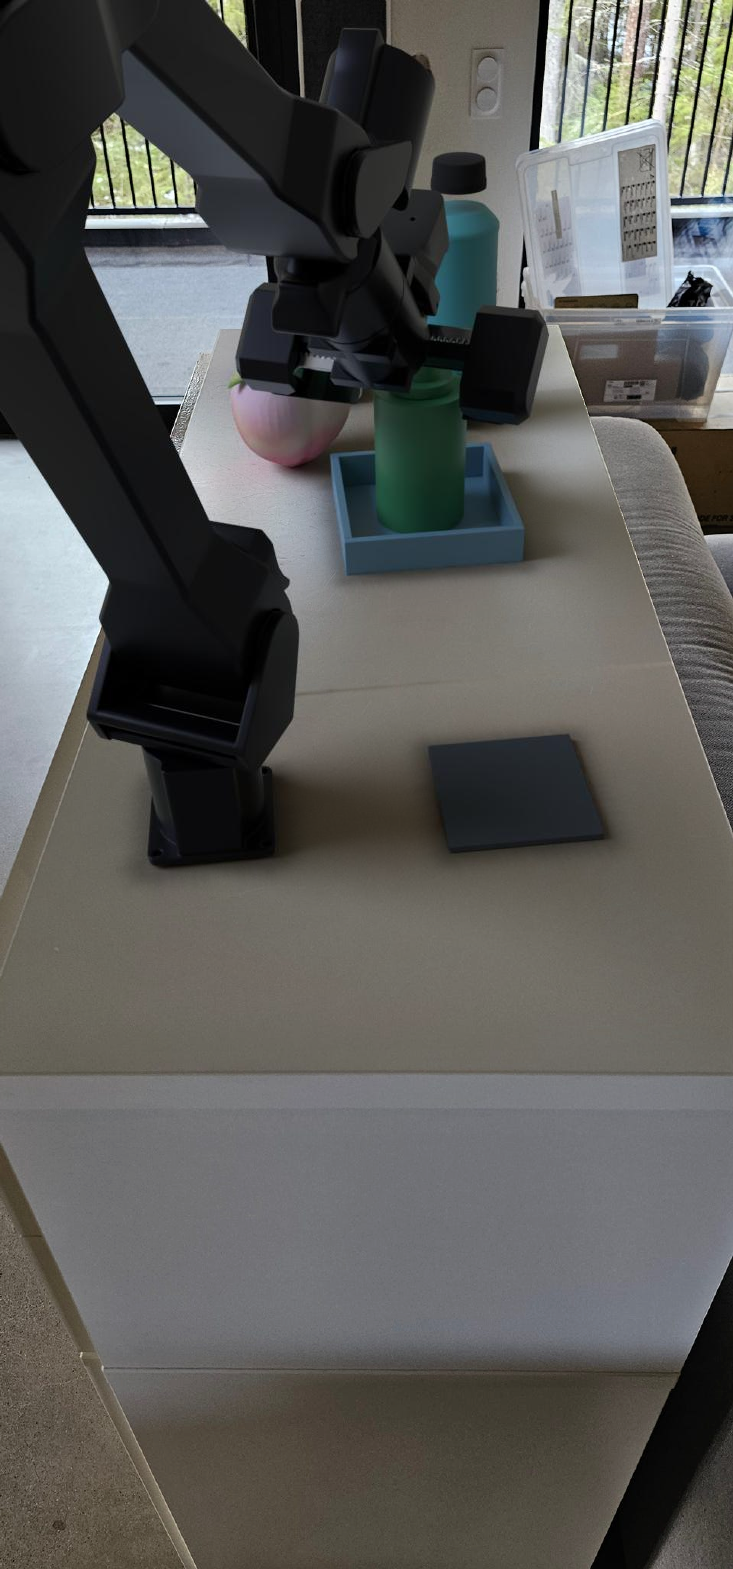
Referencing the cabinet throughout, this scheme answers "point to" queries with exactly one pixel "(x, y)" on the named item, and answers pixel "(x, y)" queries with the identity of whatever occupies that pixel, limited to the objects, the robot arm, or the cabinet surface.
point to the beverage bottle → (465, 242)
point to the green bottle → (420, 454)
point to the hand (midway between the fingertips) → (419, 405)
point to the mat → (513, 793)
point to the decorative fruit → (285, 423)
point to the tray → (476, 540)
